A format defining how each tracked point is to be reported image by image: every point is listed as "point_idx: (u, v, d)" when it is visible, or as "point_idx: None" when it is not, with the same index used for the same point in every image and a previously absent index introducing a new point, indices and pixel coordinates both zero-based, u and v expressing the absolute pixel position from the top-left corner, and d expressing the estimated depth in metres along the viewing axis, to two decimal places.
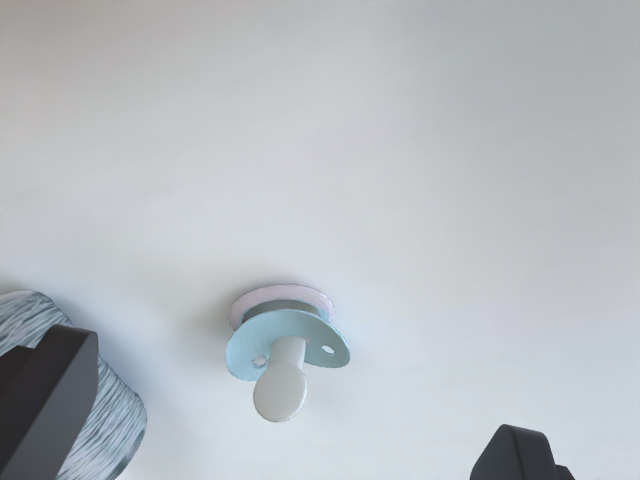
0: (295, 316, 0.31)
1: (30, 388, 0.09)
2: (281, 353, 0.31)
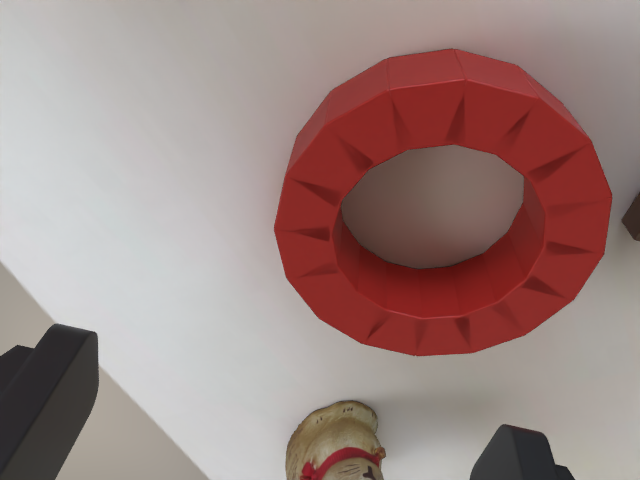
0: None
1: (30, 388, 0.09)
2: None
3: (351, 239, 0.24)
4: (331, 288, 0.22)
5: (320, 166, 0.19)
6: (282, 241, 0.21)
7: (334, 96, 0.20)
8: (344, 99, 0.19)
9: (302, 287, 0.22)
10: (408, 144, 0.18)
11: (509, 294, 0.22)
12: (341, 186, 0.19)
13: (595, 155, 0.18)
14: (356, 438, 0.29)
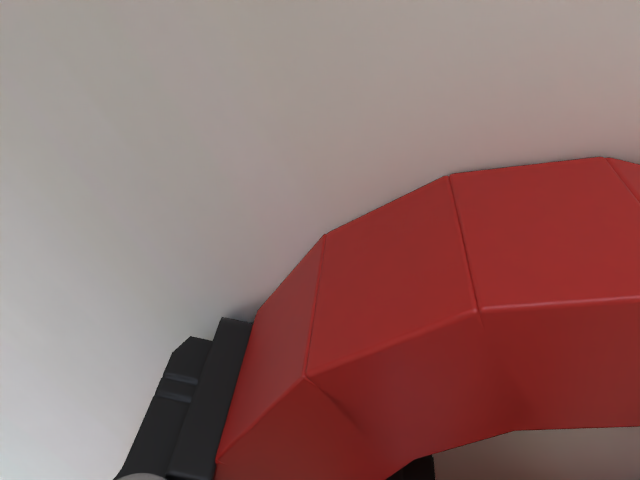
0: None
1: (221, 374, 0.10)
2: None
3: None
4: None
5: (296, 450, 0.08)
6: None
7: (330, 261, 0.09)
8: (353, 286, 0.08)
9: None
10: (519, 423, 0.07)
11: None
12: None
13: None
14: None
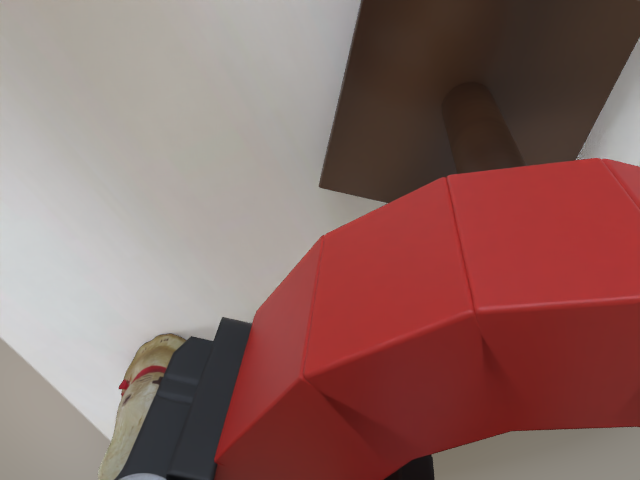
0: None
1: (222, 374, 0.10)
2: None
3: None
4: None
5: (294, 450, 0.08)
6: None
7: (328, 262, 0.09)
8: (350, 286, 0.08)
9: None
10: (515, 423, 0.07)
11: None
12: None
13: None
14: (162, 359, 0.36)
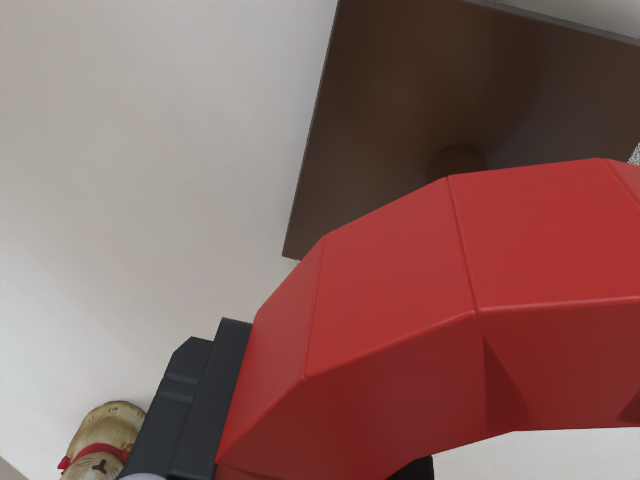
0: None
1: (222, 374, 0.10)
2: None
3: None
4: None
5: (296, 449, 0.08)
6: None
7: (329, 262, 0.09)
8: (351, 286, 0.08)
9: None
10: (517, 424, 0.07)
11: None
12: None
13: None
14: (108, 435, 0.32)
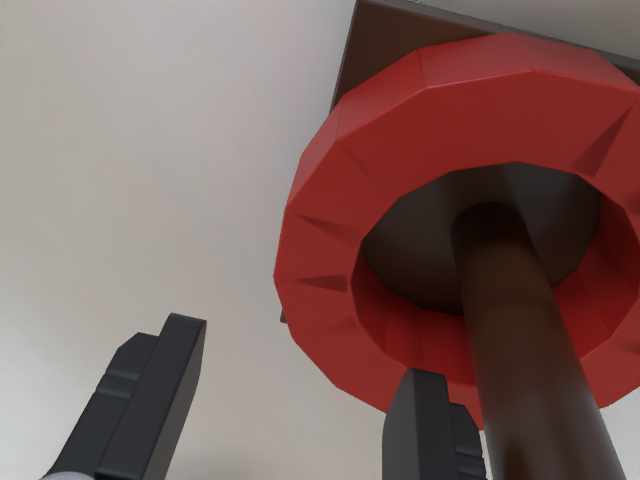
0: None
1: (164, 370, 0.09)
2: None
3: (375, 282, 0.19)
4: (352, 350, 0.17)
5: (331, 196, 0.14)
6: (285, 293, 0.16)
7: (348, 101, 0.15)
8: (361, 104, 0.14)
9: (313, 349, 0.17)
10: (452, 164, 0.13)
11: (588, 356, 0.16)
12: (360, 222, 0.14)
13: None
14: None
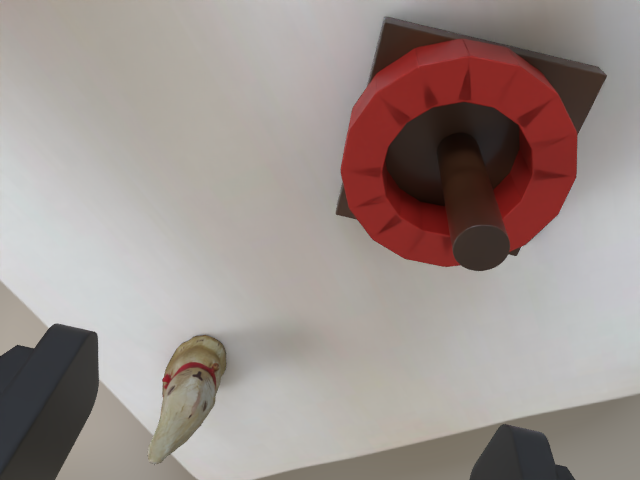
0: None
1: (30, 388, 0.09)
2: None
3: (393, 183, 0.33)
4: (382, 214, 0.31)
5: (373, 122, 0.28)
6: (346, 179, 0.30)
7: (380, 75, 0.29)
8: (387, 76, 0.28)
9: (360, 214, 0.31)
10: (433, 103, 0.27)
11: (510, 212, 0.30)
12: (387, 136, 0.28)
13: (562, 104, 0.26)
14: (199, 357, 0.42)
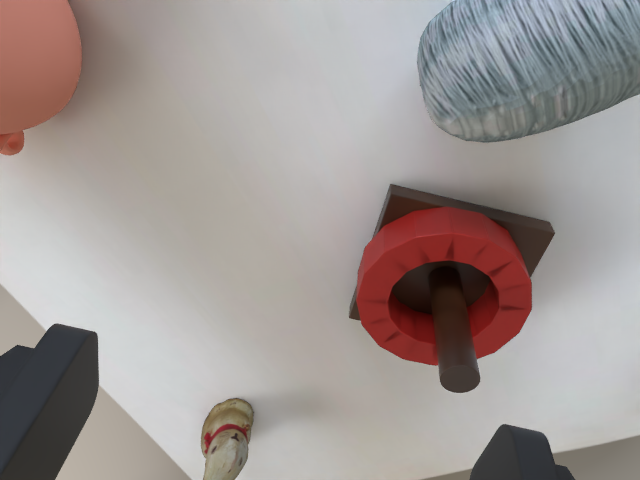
0: None
1: (30, 388, 0.09)
2: None
3: (395, 300, 0.43)
4: (386, 329, 0.41)
5: (382, 270, 0.38)
6: (360, 306, 0.40)
7: (386, 231, 0.39)
8: (392, 236, 0.38)
9: (370, 329, 0.41)
10: (426, 260, 0.37)
11: (483, 331, 0.40)
12: (392, 279, 0.38)
13: (519, 264, 0.36)
14: (234, 419, 0.52)
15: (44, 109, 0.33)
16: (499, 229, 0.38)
